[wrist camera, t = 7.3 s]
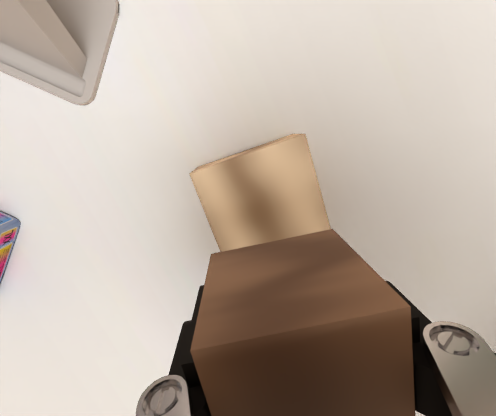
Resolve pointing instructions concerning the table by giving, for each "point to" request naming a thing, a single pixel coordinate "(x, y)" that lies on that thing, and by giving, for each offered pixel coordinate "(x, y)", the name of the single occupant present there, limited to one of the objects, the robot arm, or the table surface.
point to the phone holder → (57, 44)
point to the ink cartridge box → (7, 238)
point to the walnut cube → (302, 333)
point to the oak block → (262, 194)
